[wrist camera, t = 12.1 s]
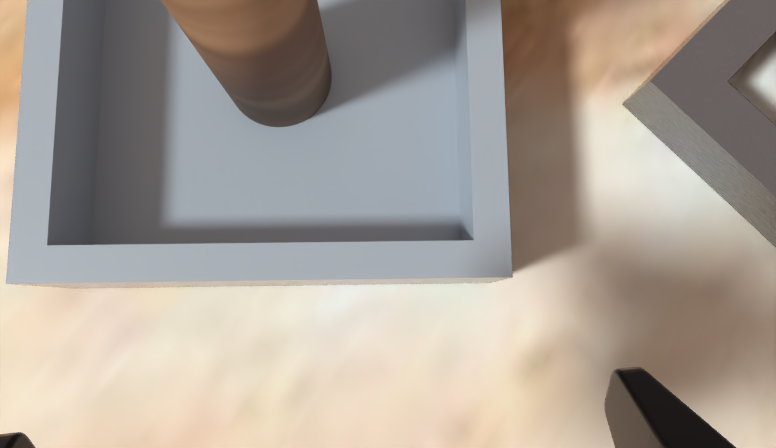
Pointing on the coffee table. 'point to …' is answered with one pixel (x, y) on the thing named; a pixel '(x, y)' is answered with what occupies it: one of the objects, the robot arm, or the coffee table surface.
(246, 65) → the pin
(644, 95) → the gray square socket plate
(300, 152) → the tray
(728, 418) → the coffee table surface
